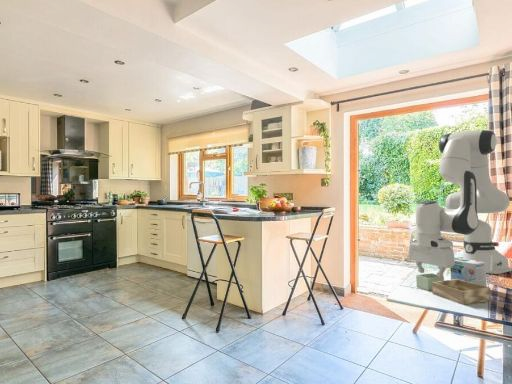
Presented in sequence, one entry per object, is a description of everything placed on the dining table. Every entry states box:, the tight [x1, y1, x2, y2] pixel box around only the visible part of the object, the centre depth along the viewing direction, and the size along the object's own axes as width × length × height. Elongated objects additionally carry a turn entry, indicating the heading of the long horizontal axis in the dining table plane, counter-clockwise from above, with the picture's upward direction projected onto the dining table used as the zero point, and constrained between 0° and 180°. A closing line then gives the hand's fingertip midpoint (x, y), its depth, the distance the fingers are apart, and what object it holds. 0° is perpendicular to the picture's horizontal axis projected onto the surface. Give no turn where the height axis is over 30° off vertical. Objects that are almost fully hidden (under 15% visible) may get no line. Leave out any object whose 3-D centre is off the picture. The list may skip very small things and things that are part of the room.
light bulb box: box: [449, 257, 488, 287], centre depth 128 cm, size 11×7×11 cm, turn 23°
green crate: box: [415, 272, 445, 292], centre depth 128 cm, size 8×6×5 cm
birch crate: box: [432, 279, 492, 305], centre depth 116 cm, size 12×13×4 cm
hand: (430, 274), depth 127 cm, fingers open, 8 cm apart
